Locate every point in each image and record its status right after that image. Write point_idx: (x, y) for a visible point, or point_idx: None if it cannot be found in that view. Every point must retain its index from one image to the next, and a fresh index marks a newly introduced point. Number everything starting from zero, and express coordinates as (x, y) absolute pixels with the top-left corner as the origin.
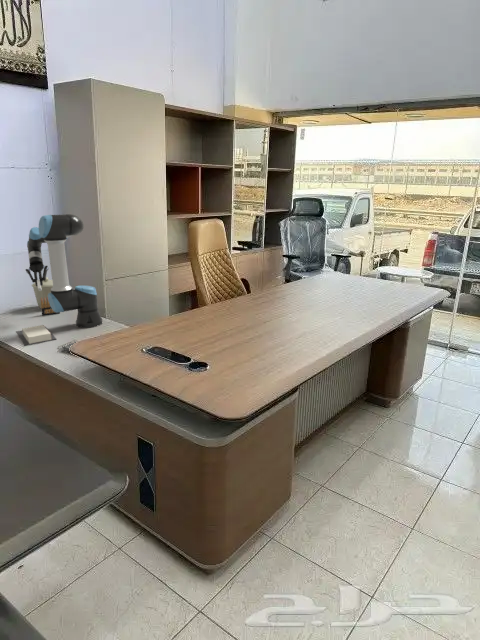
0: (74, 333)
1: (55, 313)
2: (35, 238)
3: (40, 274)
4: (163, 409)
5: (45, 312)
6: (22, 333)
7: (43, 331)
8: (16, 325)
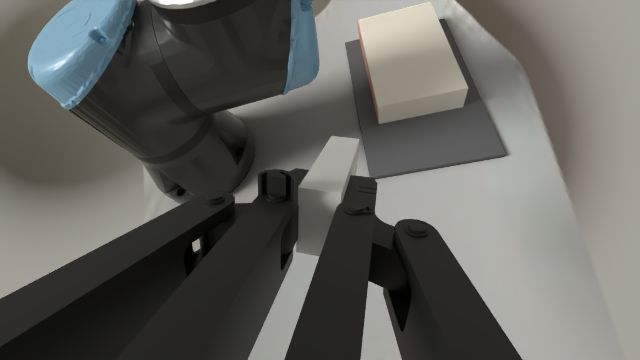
0: None
1: None
2: None
3: (212, 259)
4: None
5: None
6: (466, 119)
7: (379, 39)
8: (528, 280)
